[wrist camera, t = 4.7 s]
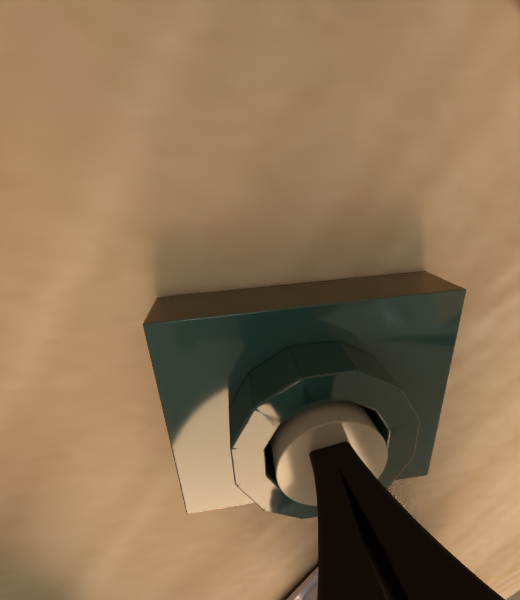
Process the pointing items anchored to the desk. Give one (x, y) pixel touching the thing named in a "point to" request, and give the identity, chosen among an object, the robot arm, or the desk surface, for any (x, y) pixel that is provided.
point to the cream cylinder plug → (323, 445)
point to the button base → (298, 375)
